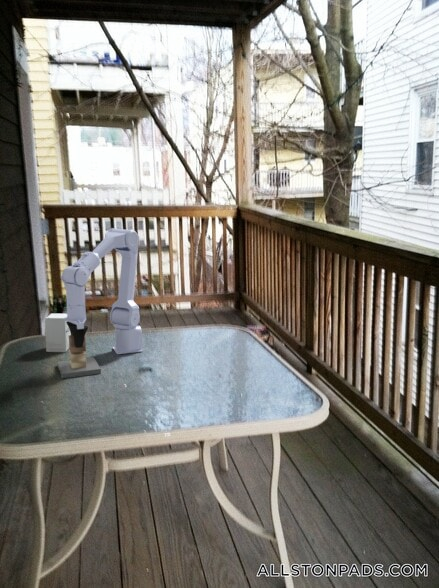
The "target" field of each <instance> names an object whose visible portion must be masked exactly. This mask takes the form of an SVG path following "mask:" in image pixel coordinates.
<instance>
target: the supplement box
mask: <svg viewBox="0 0 439 588" xmlns="http://www.w3.org/2000/svg"><path fill="white" fill-rule="evenodd" d="M66 317H67V313H50V314H49V315H48V316H46V317H45V318H44V327H45V351H46V352H48V353H67V351H68V350H70V349H69V335H71V333H70V329H69V327H68V325H67V323H66V322H68V321H64V319H63V318H66Z"/></svg>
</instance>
